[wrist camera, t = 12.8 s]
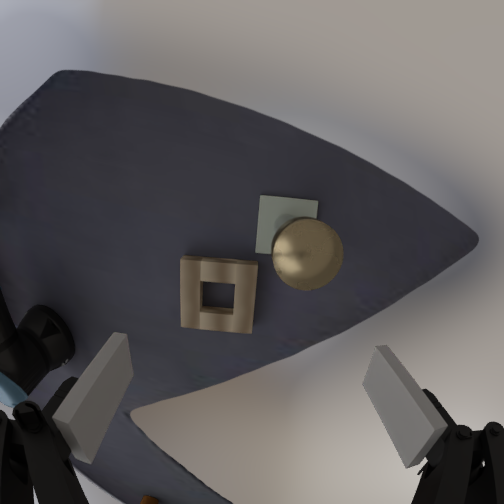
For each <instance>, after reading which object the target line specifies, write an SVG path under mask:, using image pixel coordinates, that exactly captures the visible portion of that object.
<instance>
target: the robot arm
mask: <svg viewBox="0 0 504 504" xmlns="http://www.w3.org/2000/svg"><path fill="white" fill-rule="evenodd" d="M1 290H2V288H1V286H0V402H1V403H3V404H4V405H6V406H8V407H12V408H14V409H13V413H12V415H13V416H14V418H15V420H11V419H9V418H8V417H7V415H6V414H5V412H3V411H2V410H0V504H34V494H33V486H34V490H35V493H36V496H37V499H38V502H39V504H89V503H88V500H87V498H86V497H85V495H84V492H83V490H82V488H81V485H80V483H79V481H78V478H77V476H76V473H75V471H74V468H73V466H72V463H71V461H70V459H69V455H70V453H71V452H72V453H73V455H74V456H75V458H76V459H78V460H81V461H84V462H86V463H89V464H92V462H93V459H94V457H95V455H96V453H97V450H98V448H99V446H100V444H101V442H102V439H103V437H104V435H105V433H106V431H107V429H108V427H109V424H110V422H111V420H112V418H113V416H114V414H115V412H116V410H117V408H118V406H119V404H120V402H121V400H122V397H123V395H124V393H125V391H126V389H127V387H128V385H129V383H130V381H131V380H132V378H133V376H134V373H133V368H132V362H131V357H130V351H129V344H128V338H127V334H123V333H117V332H114V333H113V334H112V335H111V337H110V338H109V339H108V340H107V342H106V343H105V344H104V346H103V347H102V348H101V350H100V351H99V352H98V354H97V355H96V356H95V358H94V359H93V360H92V362H91V363H90V364H89V366H88V367H87V368H86V370H85V371H84V372H83V374H82V375H81V377H80V378H75V377H70V378H69V379H67V380H65V381H64V382H63V383H62V384H61V386H60V387H59V388H58V390H57V391H56V392H55V394H54V396H52V398H51V399H50V400H49V402H48V403H47V405H46V406H45V407H44V409H43V410H42V411H41V410H40V408H39V406H38V405H37V404H36V403H35V402H32V401H24V400H26V399H27V398H28V396H29V395H30V393H31V392H32V391H33V390H34V389H35V388H36V386H37V385H38V384H39V383H40V382H41V380H42V379H43V378H44V377H45V376H46V375H47V374H48V373H49V372H50V371H52V370H54V369H57V368H59V367H61V366H63V365H65V364H67V363H68V362H69V361H70V359H71V358H72V357H73V355H74V350H75V348H74V341H73V338H72V335H71V333H70V331H69V329H68V327H67V326H66V324H65V323H64V321H63V320H62V319H61V318H60V317H59V316H58V315H57V314H56V313H55V312H54V311H53V310H51V309H50V308H48V307H46V306H43V305H36V306H34V307H32V308H31V309H29V310H28V311H27V312H26V313H25V315H24V318H23V319H22V321H21V322H20V324H19V326H18V327H17V329H16V327H15V325H14V323H13V320H12V318H11V315H10V313H9V310H8V308H7V305H6V303H5V300H4V297H3V294H2V291H1ZM363 386H364V388H365V390H366V392H367V394H368V395H369V397H370V399H371V401H372V403H373V405H374V407H375V409H376V411H377V413H378V414H379V416H380V418H381V420H382V422H383V424H384V426H385V428H386V430H387V432H388V434H389V436H390V438H391V439H392V441H393V444H394V446H395V448H396V450H397V451H398V453H399V456H400V458H401V459H402V461H403V464H404V466H405V468H409V467H412V466H415V465H418V464H420V462H421V461H422V460H423V459H424V457H426V458H427V460H428V462H427V463H426V464H425V465H424V466H423V467H422V469H421V470H420V471H419V472H418V474H417V475H419V474H420V473H421V472H422V471H423V473H422V476H421V479H420V482H419V485H418V488H417V490H416V493H415V495H414V498H413V501H412V503H411V504H504V428H503V426H501V424H499V423H497V422H489V423H488V424H487V425H486V426H485V427H484V429H483V430H480V431H472V430H471V429H470V428H469V427H467V426H465V425H456V423H455V422H454V421H453V419H452V418H451V417H450V415H449V414H448V413H447V411H446V410H445V409H444V407H442V405H441V404H440V402H438V400H437V398H436V397H435V396H434V394H433V393H431V392H429V391H428V390H427V389H421V388H420V387H419V385H418V384H417V383H416V381H415V380H414V379H413V378H412V376H411V375H410V374H409V372H408V371H407V370H406V368H405V367H404V366H403V365H402V364H401V362H400V361H399V360H398V358H397V357H396V356H395V354H394V353H393V352H392V351H391V349H390V348H389V347H388V346H387V345H384V346H375V349H374V353H373V356H372V359H371V362H370V365H369V367H368V370H367V373H366V376H365V379H364V382H363ZM483 461H484V462H485V466H484V467H483V464H482V462H483Z"/></svg>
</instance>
